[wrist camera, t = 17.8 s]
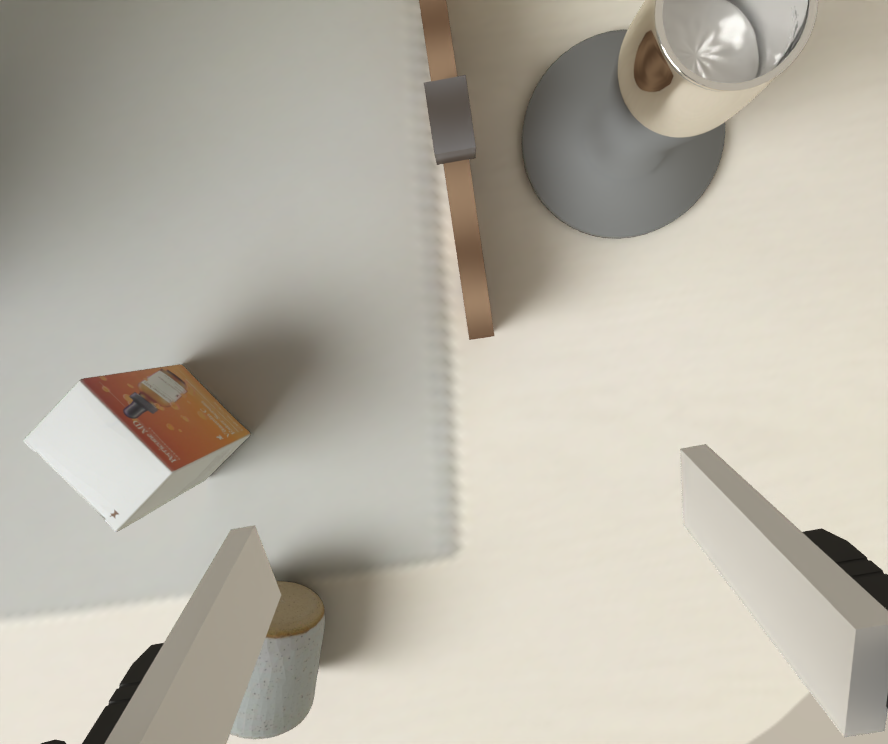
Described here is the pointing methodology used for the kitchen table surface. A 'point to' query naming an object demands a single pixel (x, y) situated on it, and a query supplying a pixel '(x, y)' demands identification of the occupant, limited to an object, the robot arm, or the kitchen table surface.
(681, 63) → the beer glass
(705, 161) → the round pad
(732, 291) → the kitchen table surface
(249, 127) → the kitchen table surface
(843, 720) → the robot arm
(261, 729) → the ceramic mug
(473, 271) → the board
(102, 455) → the small box
